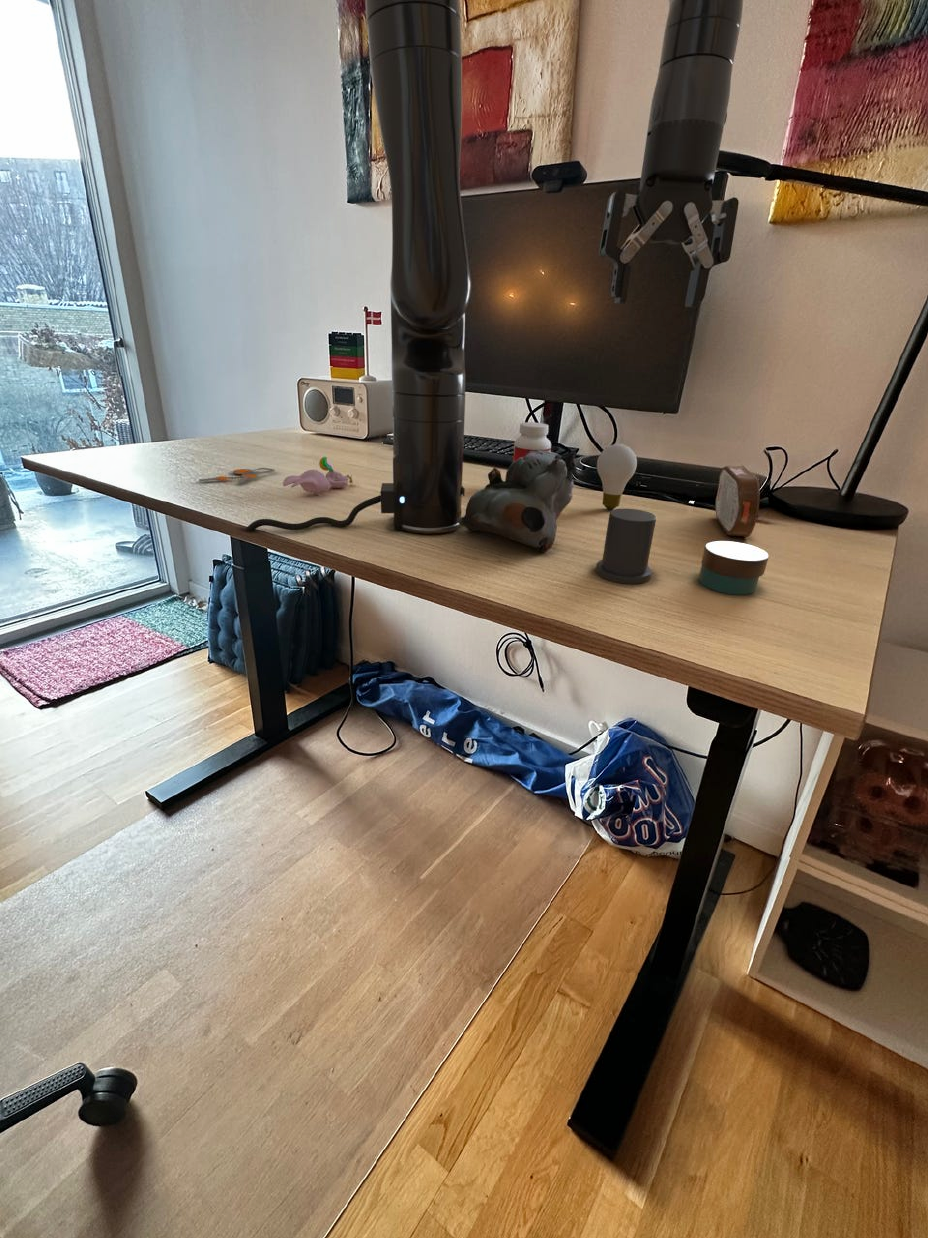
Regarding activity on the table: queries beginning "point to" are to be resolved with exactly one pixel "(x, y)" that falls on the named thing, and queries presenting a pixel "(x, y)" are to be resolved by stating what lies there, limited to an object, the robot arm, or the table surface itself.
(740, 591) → the teal chip
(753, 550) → the walnut chip
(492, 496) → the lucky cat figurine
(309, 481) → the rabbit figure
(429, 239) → the robot arm
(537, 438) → the pill bottle
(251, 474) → the key chain
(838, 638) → the table surface
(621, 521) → the upturned cup
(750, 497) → the tin
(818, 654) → the table surface
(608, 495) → the light bulb
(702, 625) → the table surface
